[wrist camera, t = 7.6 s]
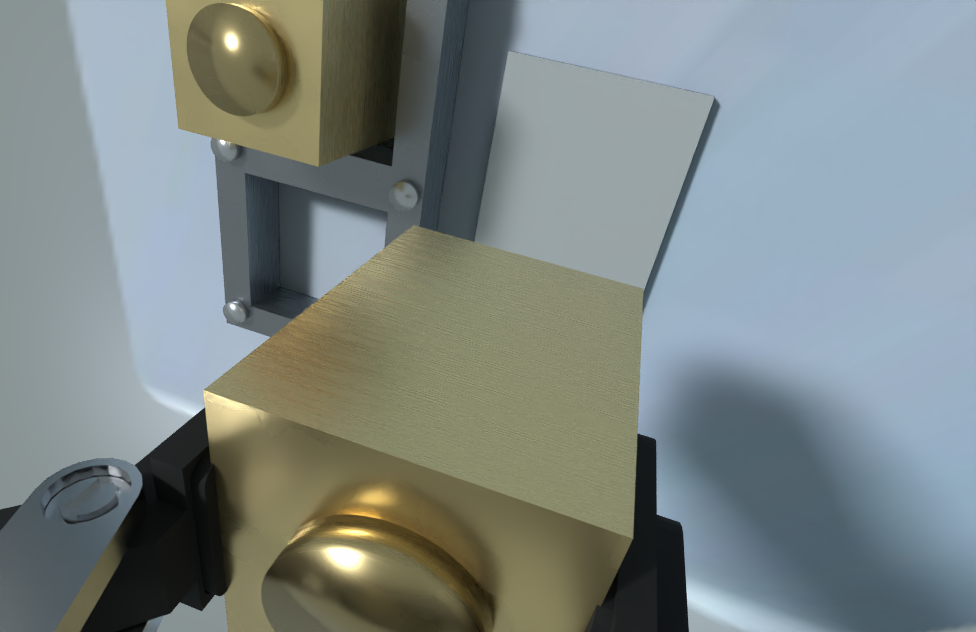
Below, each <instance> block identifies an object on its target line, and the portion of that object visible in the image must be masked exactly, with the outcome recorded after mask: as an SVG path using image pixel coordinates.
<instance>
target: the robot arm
mask: <svg viewBox="0 0 976 632" xmlns="http://www.w3.org/2000/svg"><path fill="white" fill-rule="evenodd" d="M226 592H227V590H226V579H225V569H224V559H223V549H222V539H221V529H220V519H219V509H218V499H217V488H216V478H215V468H214V464H212V463H211V460H210V450H209V441H208V431H207V421H206V412H205V408H204V409H202V410H201V411H200V412H199V413H198V414H196V415H195V416H194V417H193V418H191V419H190V420H189V421H188V422H187V423H185V424H184V425H183V426H182V427H181V428H179V429H178V430H177V431H176V432H175V433H173V434H172V435H171V436H170V437H169V438H167V439H166V440H165V441H164V442H162V443H161V444H160V445H159V446H158V447H157V448H155V449H154V450H153V451H152V452H150V453H149V454H148V455H147V456H146V457H144V458H143V459H142V460H141V461H140V462H138V463H137V464H136V465H135V466H134V465H132V464H131V463H129V462H127V461H124V460H119V459H114V458H99V459H93V460H87V461H83V462H78V463H76V464H73V465H71V466H68V467H66V468H63V469H61V470H60V471H58V472H56V473H55V474H53V475H51V476H50V477H48V478H47V479H46V480H44V481H43V482H42V483H41V484H40V485H39V486H38V487H37V488H36V489H35V490H34V491H33V492H32V494H31V495H30V496H29V497H28V499H27V500H26V501H25V502H24V503H23V504H22V505H19V506H14V507H10V508H5V509H1V510H0V632H156V631H157V629H158V627H159V625H160V622H161V620H162V618H163V616H164V615H167V614H170V613H171V612H172V611H173V609H174V608H175V607H176V606H177V605H178V603H179V602H181V603H183V604H186V605H188V606H191V607H193V608H196V609H198V610H200V611H202V610H203V609H204V608H205V607H206V605H207V604H208V603H209V601H210V600H211V599H212V598H213V596H214V595H217V596H222V595H223V594H225V593H226ZM584 632H689V628H688V611H687V593H686V576H685V559H684V541H683V530H682V526H681V524H680V522H677V521H674V520H671V519H668V518H665V517H662V516H659V515H657V502H656V440H655V439H653V438H650V437H647V436H644V435H641V434H637V456H636V480H635V504H634V528H633V540H632V542H631V544H630V546H629V548H628V550H627V552H626V555H625V557H624V559H623V561H622V563H621V565H620V567H619V569H618V571H617V573H616V576H615V578H614V580H613V582H612V584H611V586H610V588H609V590H608V592H607V594H606V597H605V599H604V601H603V603H602V605H601V606H599V605H597V606H596V608H595V610H594V612H593V614H592V616H591V619H590V621H589V623H588V625H587V627H586V629H585V631H584Z"/></svg>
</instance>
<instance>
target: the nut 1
mask: <svg viewBox="0 0 976 632" xmlns="http://www.w3.org/2000/svg"><path fill="white" fill-rule="evenodd" d="M406 7H407V0H166V8H167V18H168V28H169V38H170V48H171V58H172V68H173V78H174V88H175V98H176V108H177V118H178V128H179V129H182V130H186V131H190V132H193V133H197V134H201V135H204V136H208V137H212V138H215V139H219V140H223V141H226V142H230V143H233V144H237V145H241V146H244V147H248V148H252V149H255V150H259V151H263V152H266V153H270V154H274V155H277V156H281V157H285V158H288V159H292V160H295V161H299V162H303V163H306V164H310V165H314V166H317V167H319V166H322V165H325V164H327V163H330V162H332V161H335V160H337V159H340V158H343V157H345V156H348V155H350V154H353V153H355V152H358V151H361V150H363V149H366V148H368V147H371V146H373V145H376V144H379V143H381V142H384V141H386V140H389V139H391V138H394V137H395V128H396V117H397V106H398V95H399V84H400V73H401V62H402V51H403V40H404V29H405V18H406Z"/></svg>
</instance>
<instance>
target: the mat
mask: <svg viewBox="0 0 976 632" xmlns="http://www.w3.org/2000/svg"><path fill="white" fill-rule="evenodd" d="M714 98H715V97H714V96H712V95H707V94H703V93H698V92H694V91H689V90H685V89H680V88H676V87H671V86H667V85H662V84H658V83H653V82H648V81H644V80H639V79H635V78H630V77H626V76H621V75H617V74H612V73H608V72H603V71H599V70H594V69H590V68H585V67H581V66H576V65H572V64H567V63H563V62H558V61H554V60H549V59H545V58H540V57H536V56H531V55H527V54H522V53H518V52H513V51H508V56H507V61H506V67H505V72H504V78H503V84H502V89H501V95H500V100H499V106H498V111H497V117H496V123H495V128H494V134H493V139H492V145H491V150H490V156H489V162H488V167H487V173H486V178H485V184H484V189H483V195H482V201H481V206H480V212H479V217H478V223H477V228H476V234H475V239H474V242H477V243H480V244H484V245H488V246H491V247H495V248H498V249H502V250H506V251H509V252H513V253H516V254H520V255H524V256H527V257H531V258H534V259H538V260H542V261H545V262H549V263H553V264H556V265H560V266H563V267H567V268H571V269H574V270H578V271H581V272H585V273H589V274H592V275H596V276H599V277H603V278H607V279H610V280H614V281H618V282H621V283H625V284H628V285H632V286H636V287H639V288H643V292H644V289H645V286H646V284H647V281H648V278H649V275H650V273H651V270H652V267H653V265H654V262H655V259H656V256H657V254H658V251H659V248H660V245H661V243H662V240H663V237H664V234H665V232H666V229H667V226H668V223H669V221H670V218H671V215H672V213H673V210H674V207H675V204H676V202H677V199H678V196H679V193H680V191H681V188H682V185H683V182H684V180H685V177H686V174H687V172H688V169H689V166H690V163H691V161H692V158H693V155H694V152H695V150H696V147H697V144H698V141H699V139H700V136H701V133H702V130H703V128H704V125H705V122H706V120H707V117H708V114H709V111H710V109H711V106H712V103H713V100H714Z"/></svg>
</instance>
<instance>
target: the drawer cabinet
mask: <svg viewBox="0 0 976 632" xmlns="http://www.w3.org/2000/svg"><path fill="white" fill-rule="evenodd" d="M468 4H469V0H407V7H406V18H405V29H404V40H403V51H402V62H401V73H400V84H399V95H398V106H397V117H396V128H395V138H394V149H389V148H385V147H381V146H377V145H373V146H371V147H368V148H366V149H363V150H361V151H358V152H355V153H353V154H350V155H348V156H345V157H343V158H340V159H337V160H335V161H332V162H330V163H327V164H325V165H322V166H319V167H317V166H314V165H310V164H306V163H303V162H299V161H295V160H292V159H288V158H285V157H281V156H277V155H274V154H270V153H266V152H263V151H259V150H255V149H252V148H248V147H244V146H241V145H237V144H233V143H230V142H226V141H223V140H219V139H215V138H212V139H211V149H212V151H213V153H214V155H215V161H216V176H217V190H218V204H219V218H220V232H221V246H222V260H223V274H224V288H225V302H226V305H224V307H223V313H224V315H225V317H226V318H227V323H230V324H233V325H236V326H239V327H242V328H245V329H248V330H251V331H254V332H257V333H260V334H263V335H266V336H269V337H272V336H273V335H274V334H276V333H277V332H278V331H279V330H281V329H282V328H283V327H285V326H286V325H287V324H288V323H290V322H291V321H292V320H293V319H295V318H296V317H297V316H299V315H300V314H301V313H302V312H304V311H305V310H306V309H307V308H309V307H310V306H311V305H313V304H314V303H315V302H316V301H318V300H319V299H317V298H313V297H310V296H307V295H304V294H300V293H297V292H294V291H291V290H288V289H284V288H281V287H280V273H279V200H278V182H280V183H284V184H287V185H291V186H294V187H298V188H302V189H305V190H309V191H312V192H316V193H320V194H323V195H327V196H330V197H334V198H338V199H341V200H345V201H348V202H352V203H356V204H359V205H363V206H366V207H370V208H374V209H377V210H381V211H384V212H388V215H387V226H386V237H385V247H386V246H388V245H389V244H390V243H391V242H393V241H394V240H395V239H397V238H398V237H399V236H400V235H402V234H403V233H404V232H405V231H407V230H408V229H409V228H411V227H412V226H413V225H415V226H419V227H423V228H426V229H430V230H433V231H437V224H438V217H439V210H440V203H441V196H442V188H443V181H444V174H445V167H446V160H447V153H448V146H449V139H450V132H451V125H452V117H453V110H454V103H455V96H456V89H457V82H458V75H459V68H460V61H461V54H462V46H463V39H464V32H465V25H466V18H467V11H468Z"/></svg>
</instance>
